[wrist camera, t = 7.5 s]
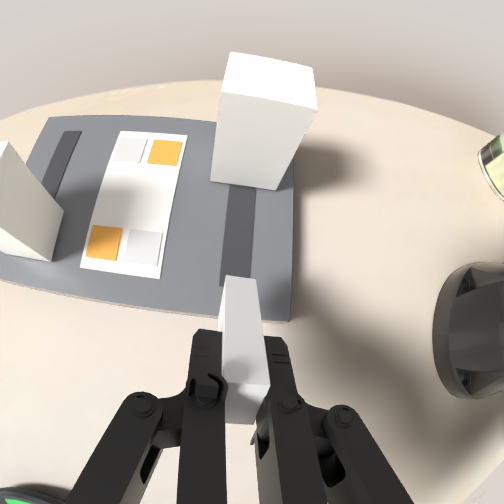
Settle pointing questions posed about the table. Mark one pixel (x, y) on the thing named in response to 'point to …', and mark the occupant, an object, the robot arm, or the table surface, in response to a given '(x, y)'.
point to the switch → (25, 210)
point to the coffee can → (494, 164)
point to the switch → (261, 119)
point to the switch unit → (154, 219)
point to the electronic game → (25, 497)
